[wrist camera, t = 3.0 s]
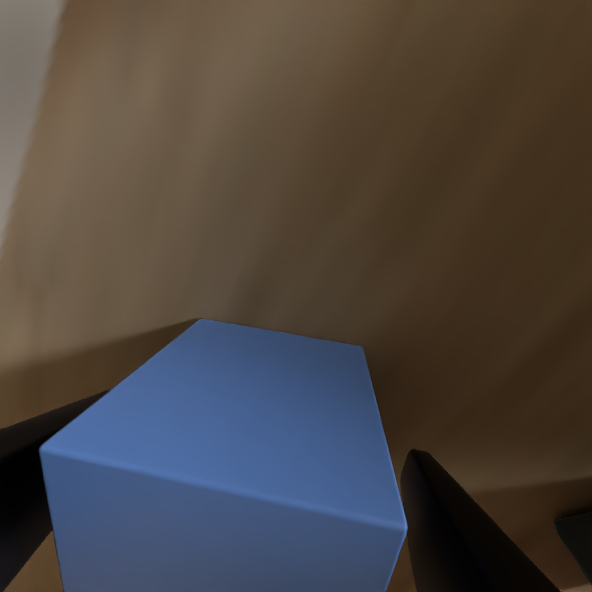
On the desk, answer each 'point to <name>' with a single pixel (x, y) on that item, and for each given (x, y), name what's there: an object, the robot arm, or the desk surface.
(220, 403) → the blue block
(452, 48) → the desk surface
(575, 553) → the turquoise patterned animal figure
